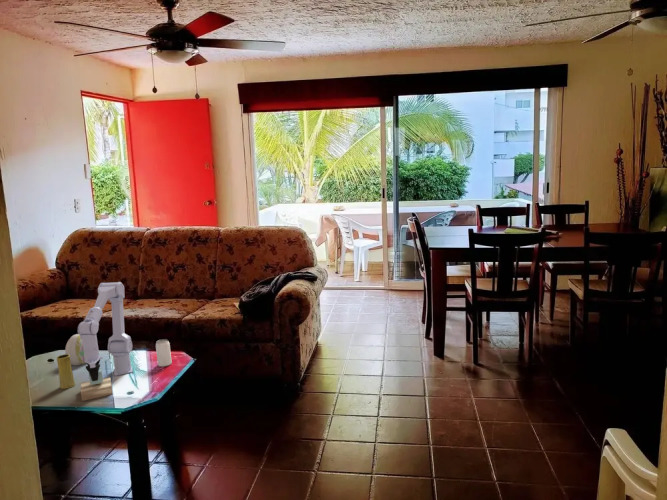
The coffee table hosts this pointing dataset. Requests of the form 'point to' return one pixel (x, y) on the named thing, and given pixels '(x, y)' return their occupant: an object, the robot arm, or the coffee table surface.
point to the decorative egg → (75, 350)
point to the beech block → (96, 389)
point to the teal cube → (100, 378)
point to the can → (163, 353)
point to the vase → (65, 371)
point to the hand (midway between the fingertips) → (95, 378)
